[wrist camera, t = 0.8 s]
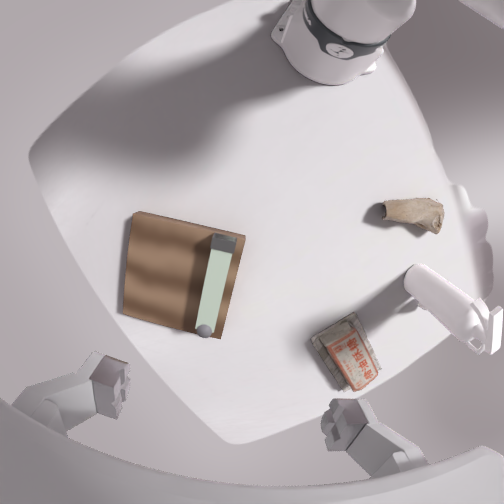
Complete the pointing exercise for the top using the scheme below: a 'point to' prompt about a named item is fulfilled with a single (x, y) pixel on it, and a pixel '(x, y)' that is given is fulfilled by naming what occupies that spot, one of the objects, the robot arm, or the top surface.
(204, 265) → the stool seat
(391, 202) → the bone fragment
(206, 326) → the hinged leg
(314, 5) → the robot arm
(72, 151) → the top surface
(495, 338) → the fire extinguisher
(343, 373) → the packaged product
